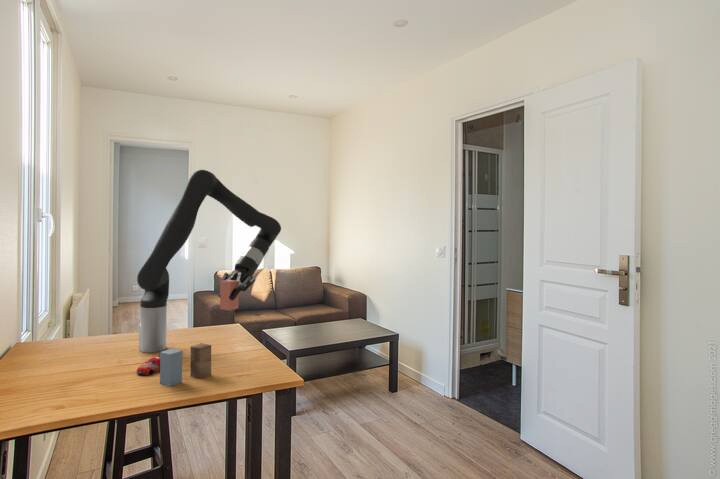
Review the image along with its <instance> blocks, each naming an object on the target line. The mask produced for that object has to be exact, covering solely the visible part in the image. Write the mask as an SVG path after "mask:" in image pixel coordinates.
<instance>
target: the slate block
mask: <svg viewBox="0 0 720 479" xmlns="http://www.w3.org/2000/svg"><path fill="white" fill-rule="evenodd" d="M159 354H160V355H159V356H160V370H159V377H160V378H159V384H161V385H164V386H167V387H173V386H175V385H177V384H180V383H182V382H183V350H181V349H176V348H170V349H167V350H166V349H165V350H162V351H159Z"/></svg>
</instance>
